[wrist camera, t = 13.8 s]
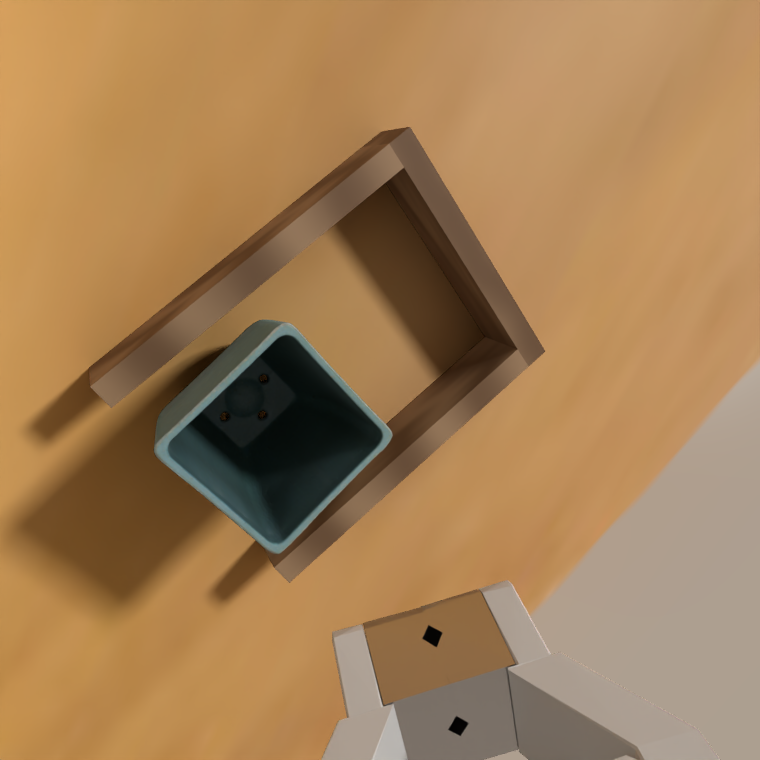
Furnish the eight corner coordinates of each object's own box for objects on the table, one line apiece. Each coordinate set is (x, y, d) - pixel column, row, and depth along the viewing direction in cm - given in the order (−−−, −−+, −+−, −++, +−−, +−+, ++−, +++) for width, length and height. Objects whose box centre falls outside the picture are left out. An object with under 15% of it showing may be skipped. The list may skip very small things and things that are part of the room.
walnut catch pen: (272, 551, 46) (289, 582, 42) (89, 367, 39) (89, 386, 35) (511, 338, 49) (545, 351, 45) (381, 131, 41) (410, 126, 38)
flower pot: (246, 291, 41) (287, 317, 33) (341, 391, 45) (397, 436, 37) (134, 397, 40) (148, 451, 32) (240, 490, 44) (277, 559, 36)
